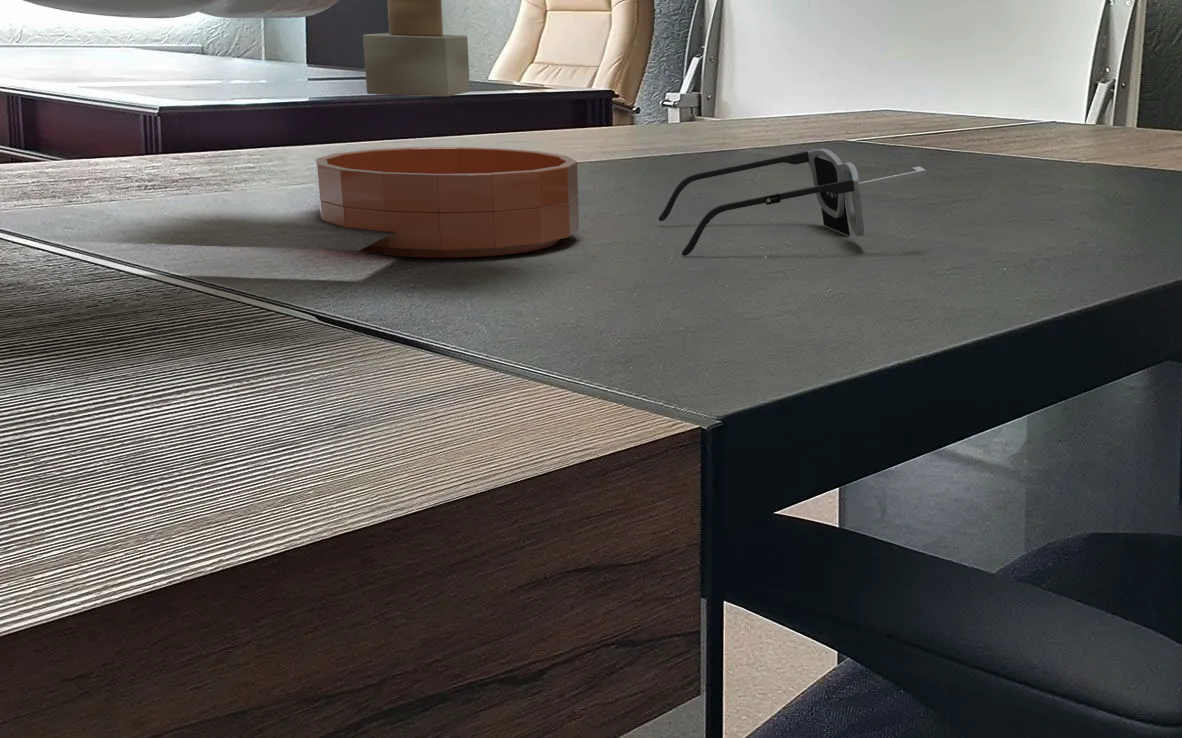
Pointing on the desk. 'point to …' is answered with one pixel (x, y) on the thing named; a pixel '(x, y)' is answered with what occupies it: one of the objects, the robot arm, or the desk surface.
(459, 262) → the desk surface
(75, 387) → the desk surface
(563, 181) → the bowl
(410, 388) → the desk surface
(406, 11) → the brush
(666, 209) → the smart glasses
